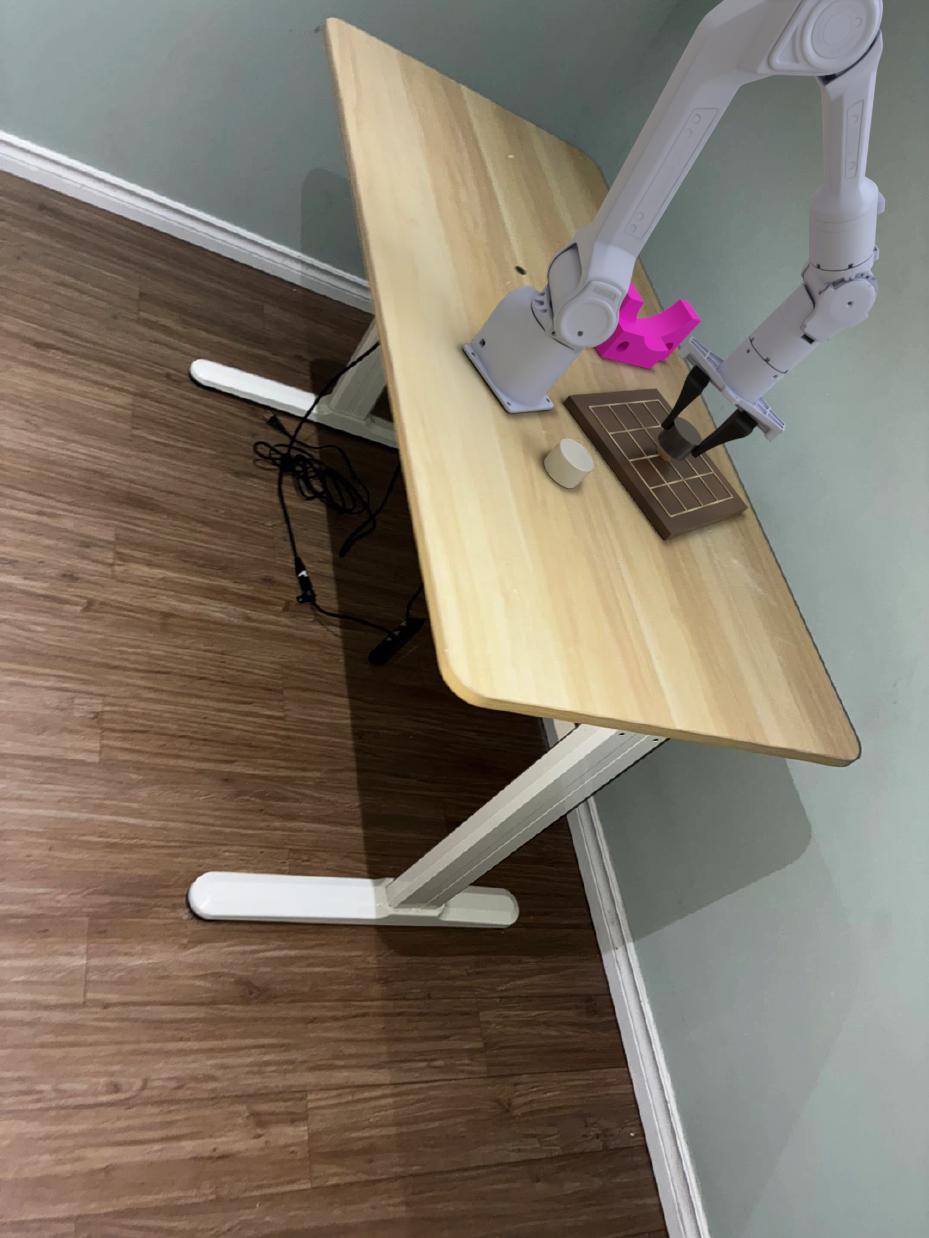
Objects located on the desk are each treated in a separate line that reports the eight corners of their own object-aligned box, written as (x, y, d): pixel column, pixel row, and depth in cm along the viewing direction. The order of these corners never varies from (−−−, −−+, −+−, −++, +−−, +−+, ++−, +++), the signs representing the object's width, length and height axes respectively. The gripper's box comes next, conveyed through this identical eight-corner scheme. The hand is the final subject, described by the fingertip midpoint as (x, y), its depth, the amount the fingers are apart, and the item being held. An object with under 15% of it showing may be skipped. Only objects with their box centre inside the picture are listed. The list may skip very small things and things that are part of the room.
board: (562, 402, 94) (569, 394, 93) (650, 394, 108) (657, 387, 107) (664, 540, 89) (672, 533, 89) (741, 513, 104) (749, 507, 103)
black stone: (653, 441, 95) (670, 425, 93) (662, 427, 99) (678, 411, 97) (680, 466, 96) (698, 451, 94) (688, 452, 99) (705, 436, 97)
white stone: (536, 457, 84) (552, 439, 83) (561, 453, 88) (577, 436, 86) (560, 491, 83) (577, 473, 82) (584, 485, 87) (601, 468, 85)
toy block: (601, 357, 106) (639, 312, 101) (581, 322, 108) (617, 277, 103) (671, 374, 115) (709, 334, 110) (651, 342, 118) (688, 302, 113)
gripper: (712, 316, 83) (625, 408, 93) (813, 413, 84) (717, 494, 94) (724, 299, 89) (641, 388, 98) (820, 390, 90) (728, 470, 99)
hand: (679, 439), depth 96 cm, fingers closed on black stone, 4 cm apart
